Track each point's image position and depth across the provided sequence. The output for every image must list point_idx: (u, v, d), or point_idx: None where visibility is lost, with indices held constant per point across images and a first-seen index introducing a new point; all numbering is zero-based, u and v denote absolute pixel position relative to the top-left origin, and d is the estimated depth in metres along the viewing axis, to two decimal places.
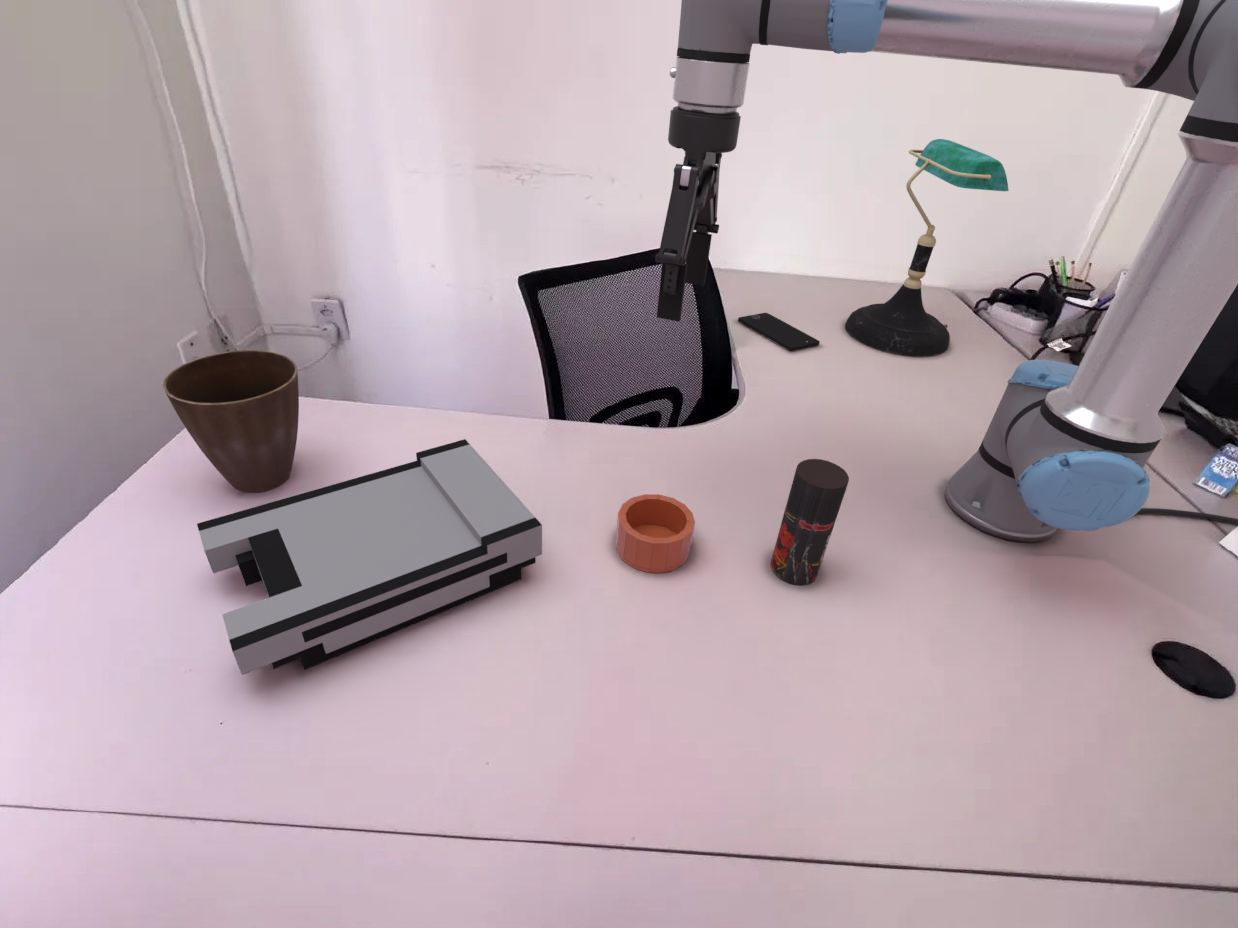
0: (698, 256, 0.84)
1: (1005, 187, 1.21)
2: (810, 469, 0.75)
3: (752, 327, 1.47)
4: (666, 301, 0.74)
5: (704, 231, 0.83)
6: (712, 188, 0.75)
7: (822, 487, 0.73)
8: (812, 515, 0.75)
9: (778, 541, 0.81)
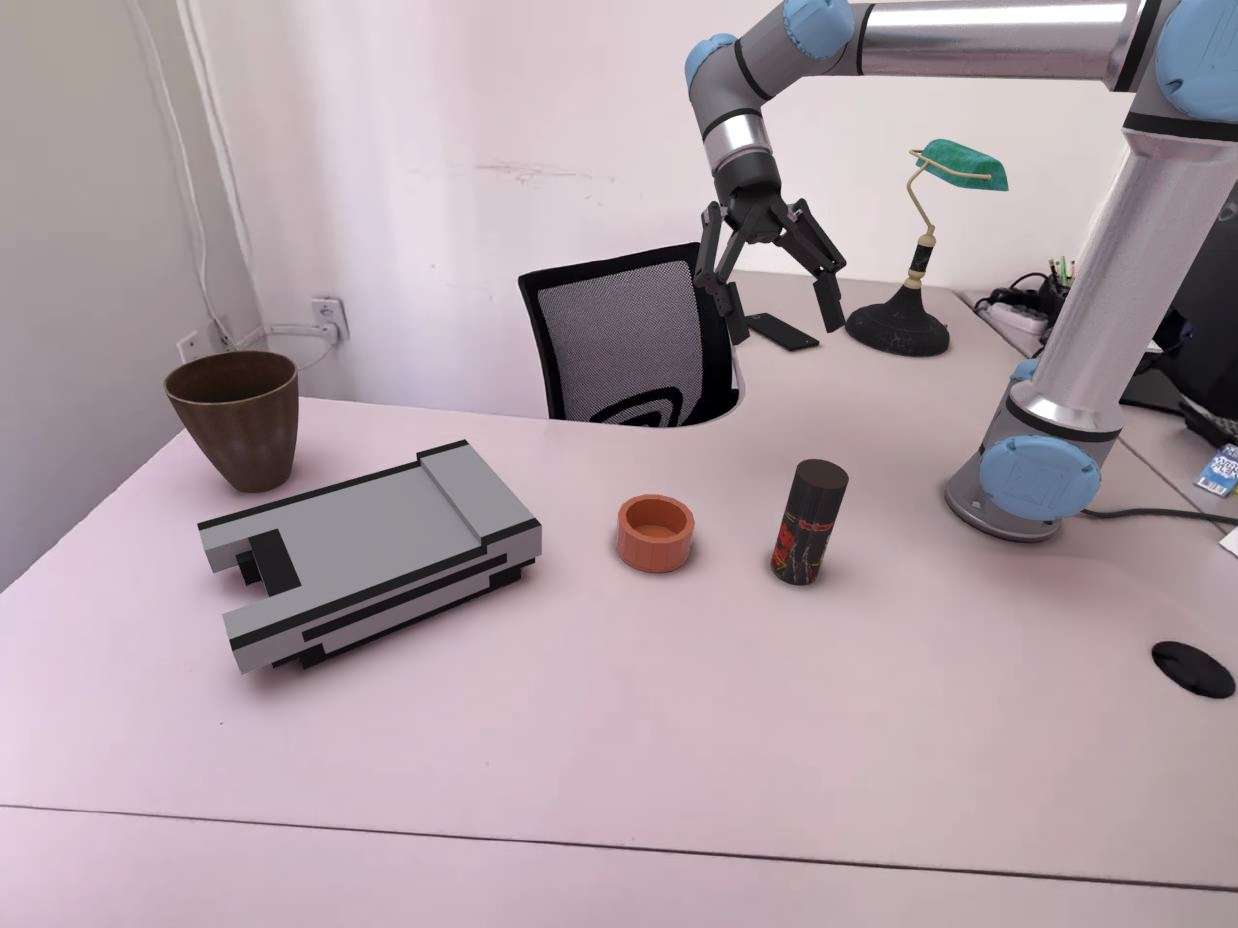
0: (826, 299, 0.78)
1: (1005, 187, 1.21)
2: (809, 469, 0.75)
3: (752, 327, 1.47)
4: (731, 324, 0.73)
5: (825, 275, 0.79)
6: (782, 224, 0.77)
7: (822, 487, 0.73)
8: (812, 515, 0.75)
9: (778, 541, 0.81)
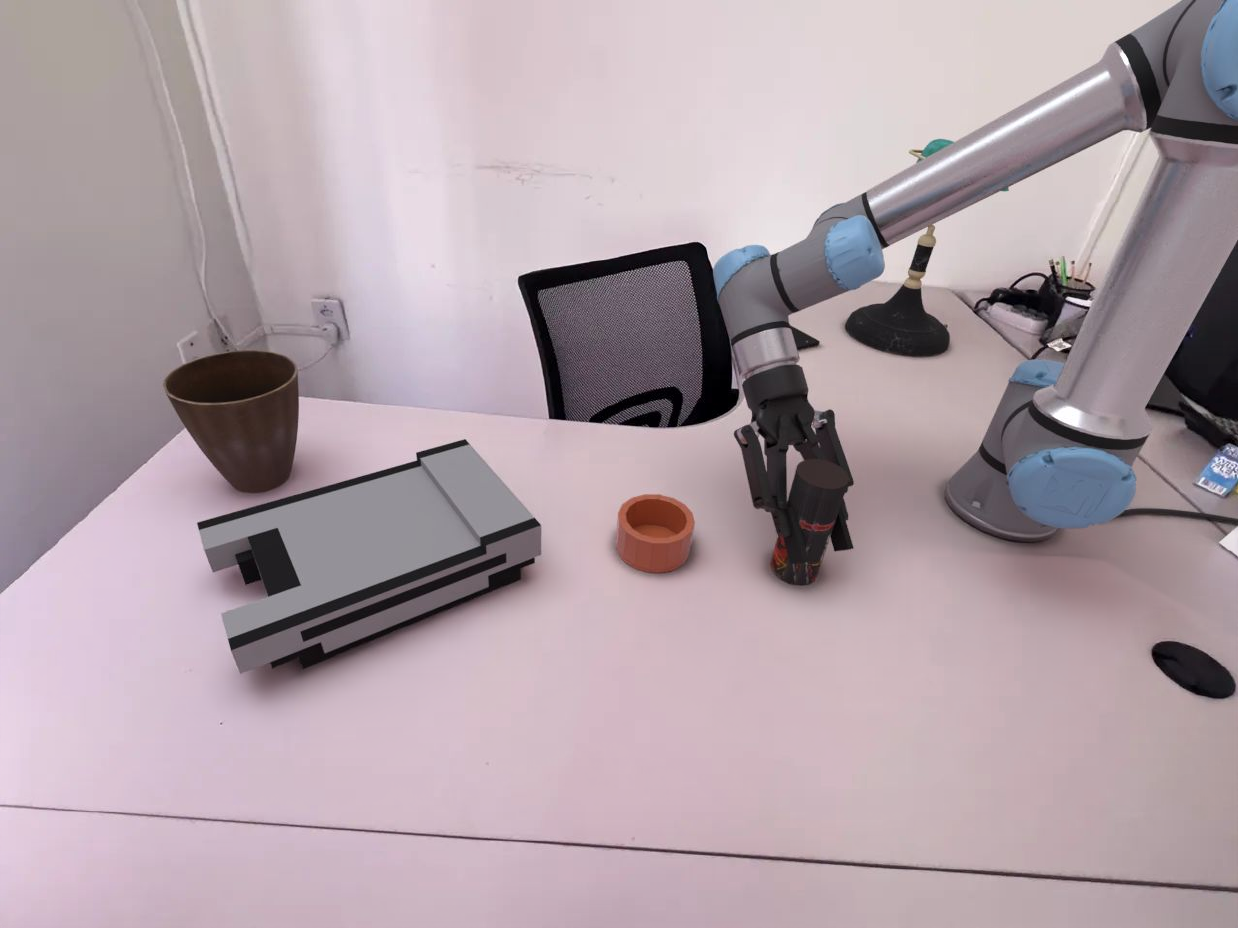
0: None
1: None
2: (809, 469, 0.75)
3: None
4: (790, 545, 0.77)
5: None
6: (804, 433, 0.78)
7: (822, 487, 0.73)
8: (812, 515, 0.75)
9: (778, 541, 0.81)
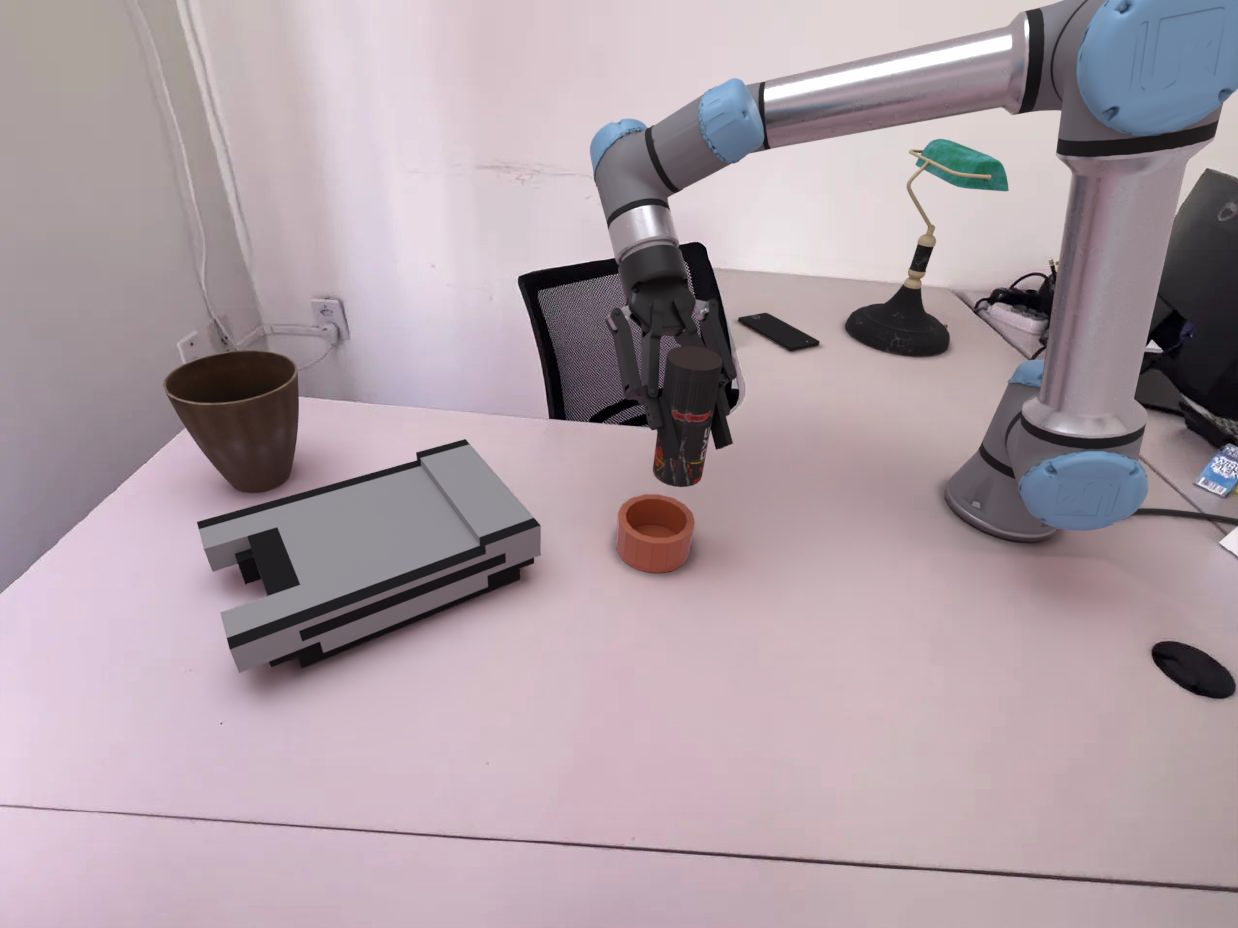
0: (713, 415, 0.73)
1: (1005, 187, 1.21)
2: (681, 354, 0.70)
3: (752, 327, 1.47)
4: (663, 438, 0.71)
5: None
6: (682, 320, 0.73)
7: (690, 369, 0.67)
8: (683, 403, 0.69)
9: (656, 439, 0.75)
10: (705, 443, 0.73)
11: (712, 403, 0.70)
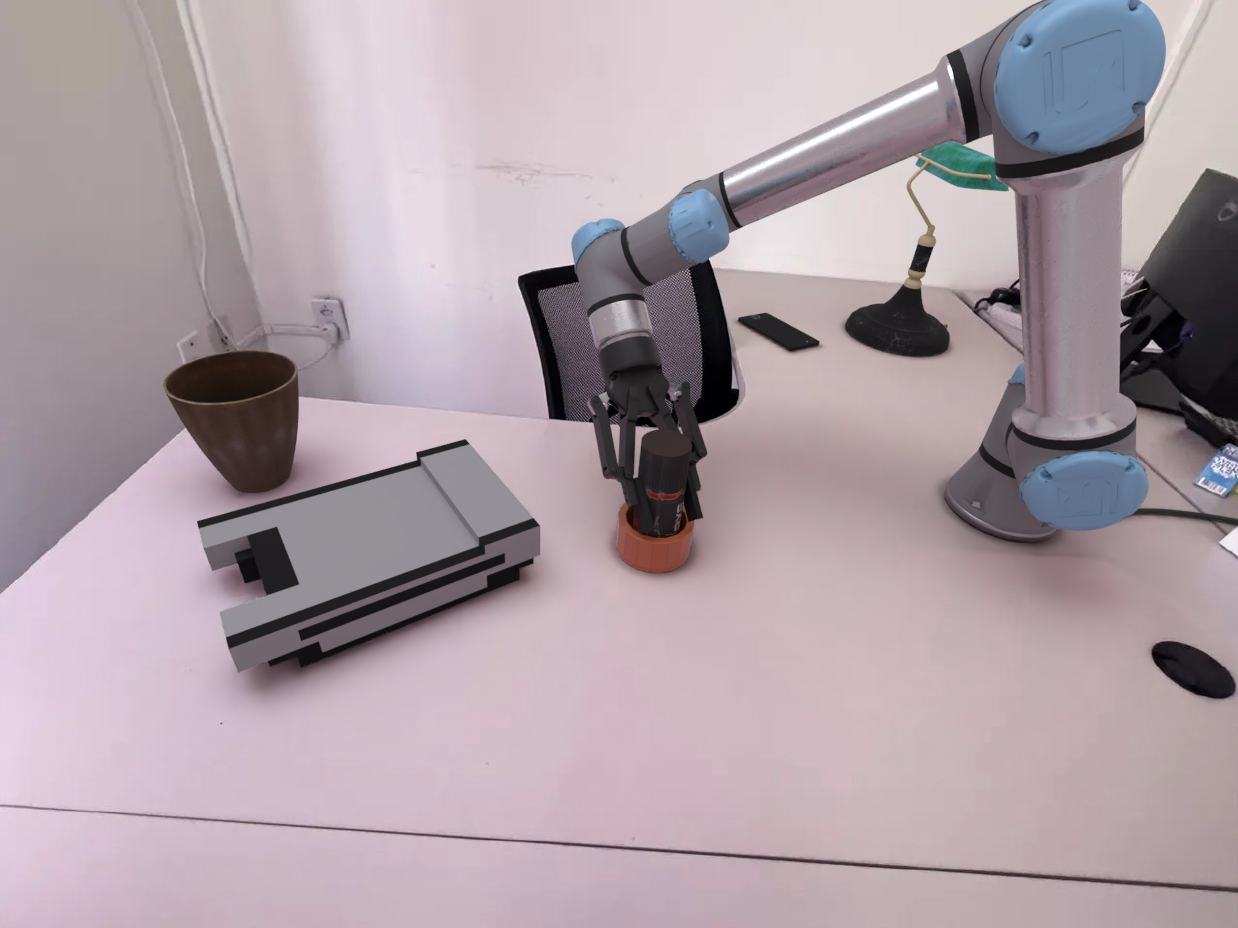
0: (686, 490, 0.80)
1: (1005, 187, 1.21)
2: (655, 439, 0.76)
3: (752, 327, 1.47)
4: (639, 514, 0.78)
5: None
6: (656, 404, 0.79)
7: (661, 455, 0.73)
8: (656, 484, 0.76)
9: (634, 512, 0.81)
10: (678, 516, 0.80)
11: (683, 483, 0.77)
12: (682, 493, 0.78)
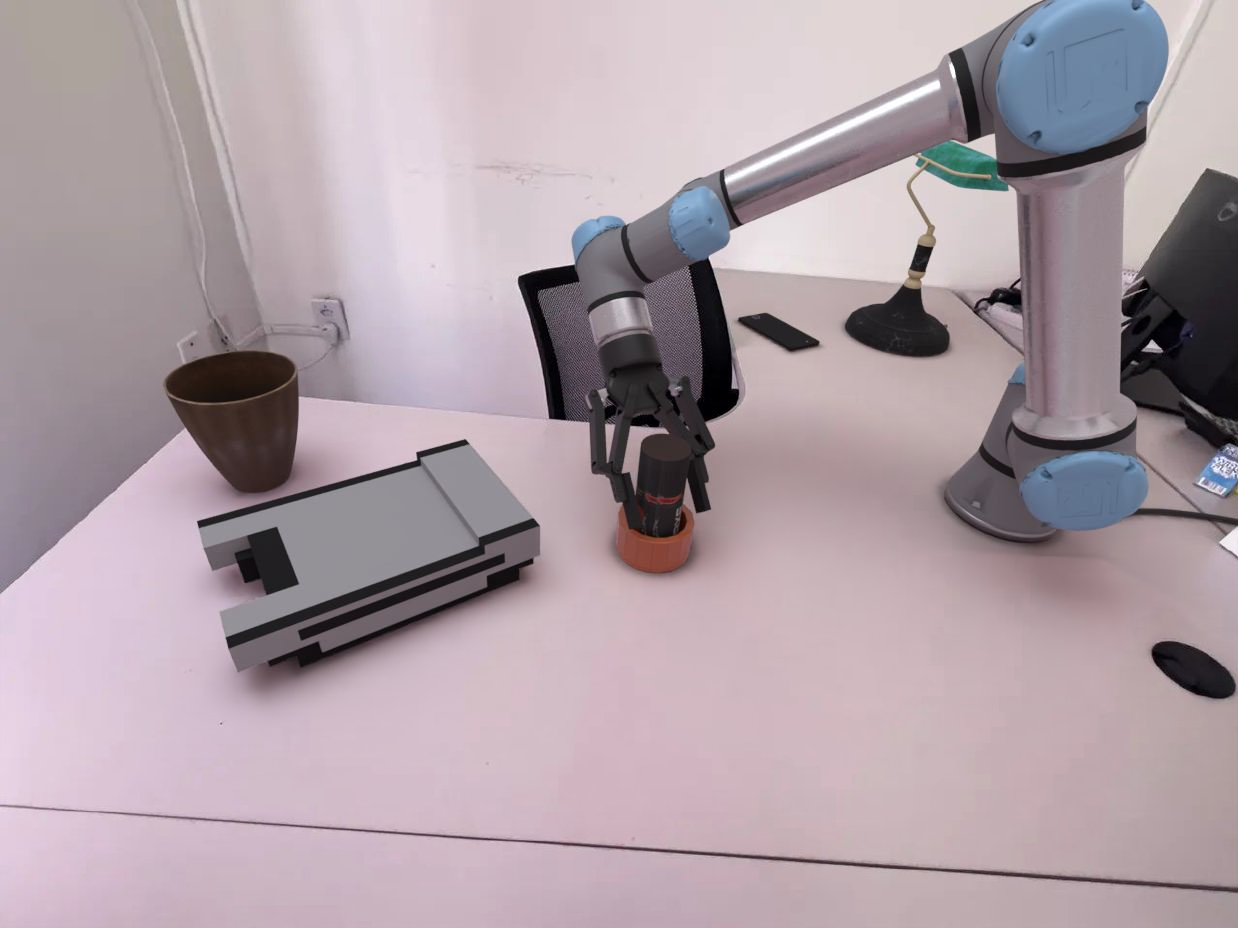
0: (694, 482, 0.80)
1: (1005, 187, 1.21)
2: (654, 443, 0.76)
3: (752, 327, 1.47)
4: (627, 510, 0.77)
5: (692, 456, 0.81)
6: (658, 401, 0.79)
7: (661, 459, 0.74)
8: (655, 488, 0.76)
9: None
10: (677, 520, 0.80)
11: (682, 487, 0.77)
12: (681, 497, 0.78)
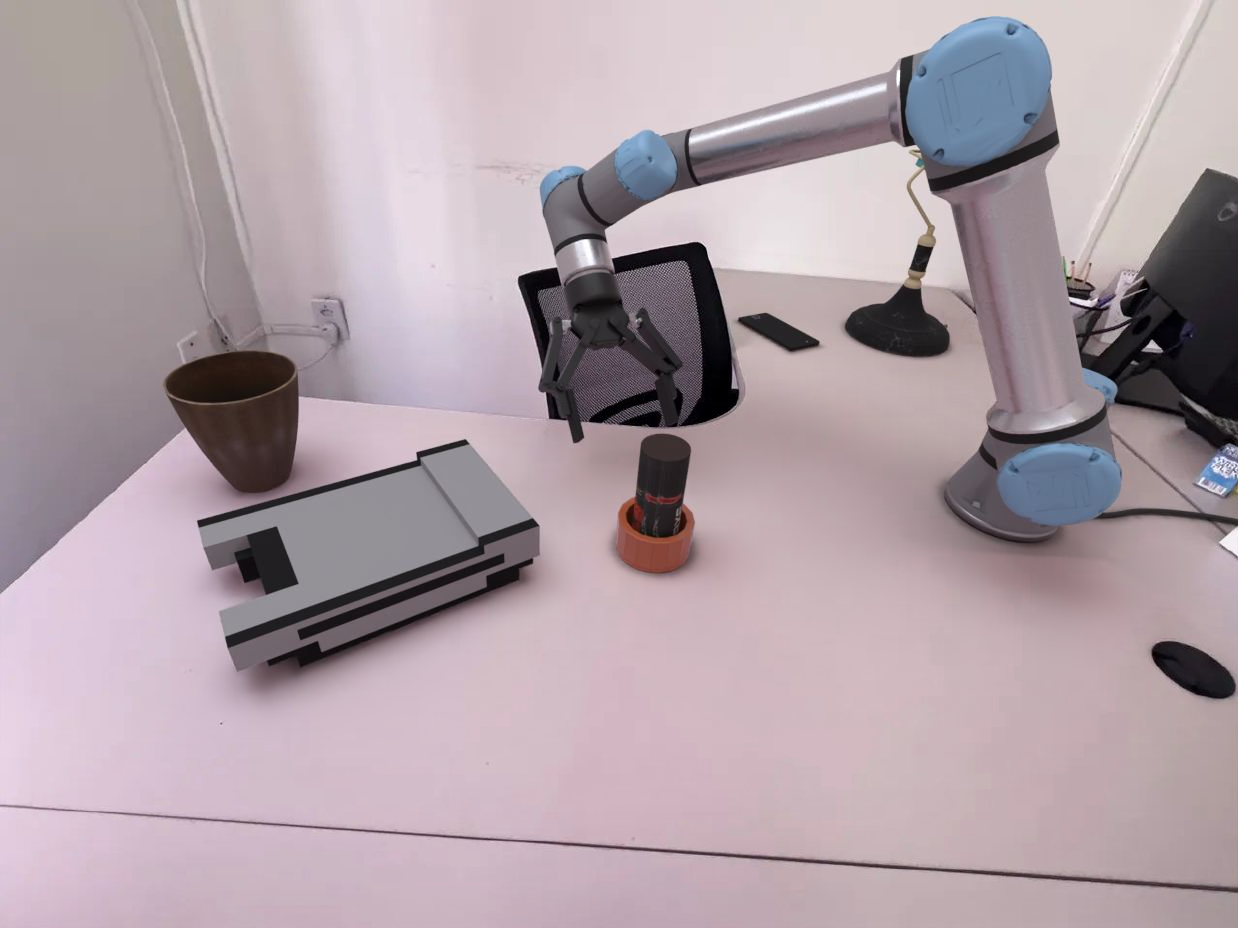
0: (663, 397, 0.89)
1: None
2: (654, 443, 0.76)
3: (752, 327, 1.47)
4: (571, 425, 0.84)
5: (663, 375, 0.89)
6: (621, 333, 0.87)
7: (661, 459, 0.74)
8: (655, 488, 0.76)
9: (633, 515, 0.82)
10: (677, 520, 0.80)
11: (682, 487, 0.77)
12: (681, 497, 0.78)
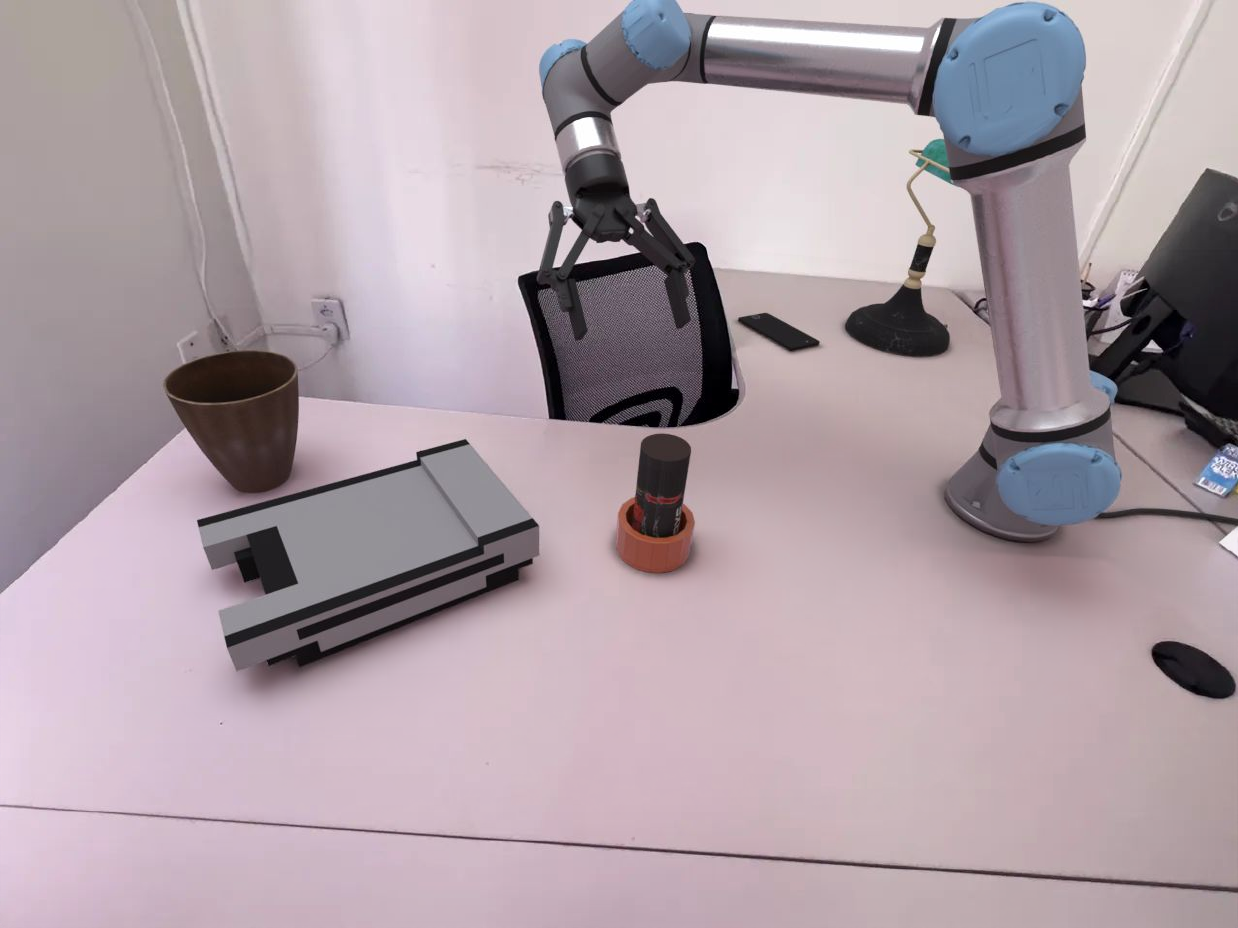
0: (674, 296, 0.81)
1: None
2: (654, 443, 0.76)
3: (752, 327, 1.47)
4: (573, 320, 0.76)
5: None
6: (628, 223, 0.79)
7: (661, 459, 0.74)
8: (655, 488, 0.76)
9: (633, 515, 0.82)
10: (677, 520, 0.80)
11: (682, 487, 0.77)
12: (681, 497, 0.78)
